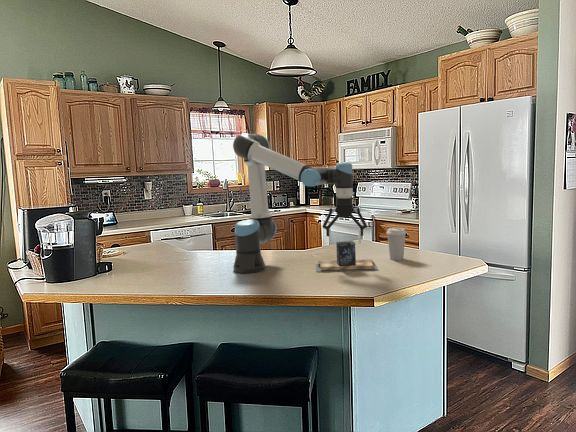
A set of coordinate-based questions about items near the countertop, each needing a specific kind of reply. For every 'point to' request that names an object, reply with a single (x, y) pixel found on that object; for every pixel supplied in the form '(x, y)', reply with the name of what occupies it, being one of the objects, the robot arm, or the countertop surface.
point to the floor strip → (336, 262)
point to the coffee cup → (396, 243)
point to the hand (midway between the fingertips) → (344, 243)
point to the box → (346, 253)
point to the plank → (347, 266)
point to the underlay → (318, 269)
